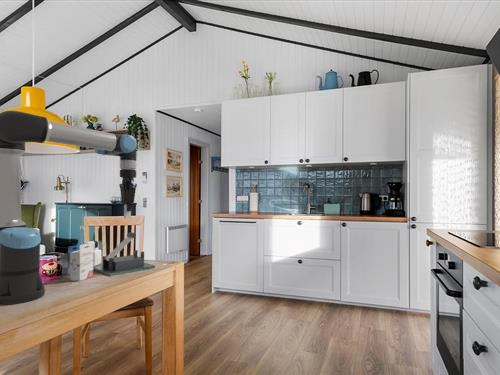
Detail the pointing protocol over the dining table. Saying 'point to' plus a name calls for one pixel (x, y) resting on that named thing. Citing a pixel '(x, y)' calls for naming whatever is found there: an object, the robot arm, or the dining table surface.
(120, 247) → the steel strap
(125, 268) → the green fixture base plate
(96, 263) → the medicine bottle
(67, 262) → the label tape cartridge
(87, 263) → the ink cartridge box
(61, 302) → the dining table surface
